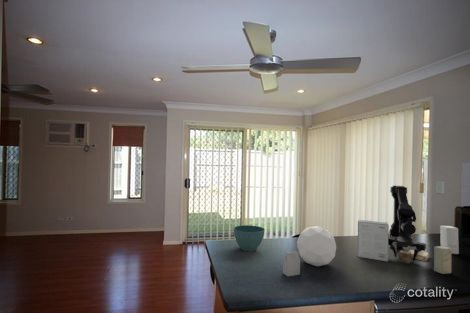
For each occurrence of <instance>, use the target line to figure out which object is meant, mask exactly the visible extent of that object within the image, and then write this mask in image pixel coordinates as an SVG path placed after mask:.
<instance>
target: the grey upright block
mask: <svg viewBox="0 0 470 313" xmlns="http://www.w3.org/2000/svg"><path fill="white" fill-rule="evenodd" d="M282 261H283V262H282V265H283V266H282V274H283V275H285V276H286V277H294V276H298V275H301V259H300V254H299V251H298V250H296V251H290V252H285V254H284V258H283V260H282Z"/></svg>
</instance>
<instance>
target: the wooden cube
mask: <svg viewBox="0 0 470 313" xmlns="http://www.w3.org/2000/svg"><path fill="white" fill-rule="evenodd" d="M398 262H401V263H405V264H408V265H409V264H410V263H411V262H412V258H411V252H408V251H406V250H403V249H402V250H398Z"/></svg>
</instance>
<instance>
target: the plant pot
mask: <svg viewBox="0 0 470 313" xmlns="http://www.w3.org/2000/svg"><path fill="white" fill-rule="evenodd" d="M233 235H234V239H235V242H236V244H237V246H238V247H239V248H240V249H241V250H242V251H243V252H254V251H257V249H258V248H259V247H260V245H261V243H262V242H263V240H264V236H265V228H264V227H262V226H257V225H249V224H248V225H247V224H246V225H244V224H243V225H236V226H234V227H233Z"/></svg>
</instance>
